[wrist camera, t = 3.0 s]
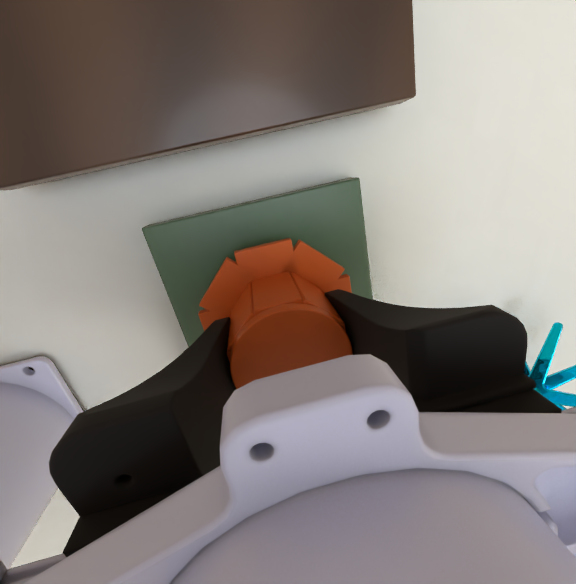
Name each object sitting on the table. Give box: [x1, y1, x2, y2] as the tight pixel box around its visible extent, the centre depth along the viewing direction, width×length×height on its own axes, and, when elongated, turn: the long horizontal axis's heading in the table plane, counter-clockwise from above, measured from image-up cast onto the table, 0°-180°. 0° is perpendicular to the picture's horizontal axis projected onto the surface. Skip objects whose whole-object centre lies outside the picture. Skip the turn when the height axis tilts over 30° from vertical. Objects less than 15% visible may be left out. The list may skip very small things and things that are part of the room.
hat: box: [198, 238, 353, 389], centre depth 12 cm, size 7×7×4 cm
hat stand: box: [142, 178, 373, 347], centre depth 13 cm, size 10×10×6 cm
